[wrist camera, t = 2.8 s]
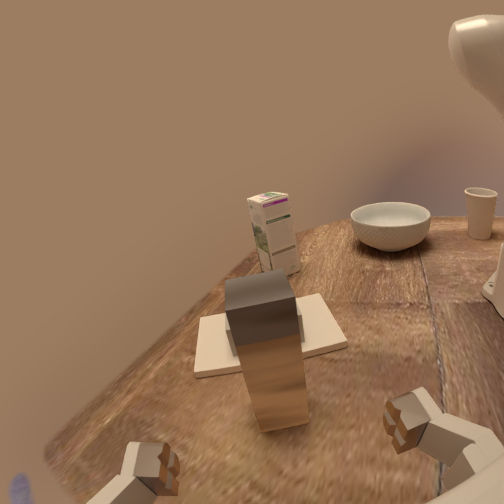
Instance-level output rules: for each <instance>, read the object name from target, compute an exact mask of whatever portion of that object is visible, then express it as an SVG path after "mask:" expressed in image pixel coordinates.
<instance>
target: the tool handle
mask: <svg viewBox="0 0 504 504" xmlns="http://www.w3.org/2000/svg"><path fill="white" fill-rule="evenodd" d="M225 312H226V316H227V319H228V323H229V327H230V330H231V334H232V337H233V341H234V344H235V348H236V351H237V355H238V358H239V362H240V365H241V368H242V372H243V375H244V378H245V382H246V385H247V388H248V392H249V395H250V398H251V401H252V405H253V408H254V411H255V414H256V417H257V420H258V423H259V427H260V430H261V433H262V432H268V431H273V430H279V429H284V428H288V427H293V426H298V425H302V424H306V423H310V422H309V411H308V401H307V391H306V381H305V372H304V363H303V354H302V346H301V337H300V329H299V321H298V313H297V306H296V298H295V295H294V292H293V290H292V288H291V286H290V283H289V281H288V279H287V277H286V275H285V272H284V270H283V268H282V269H278V270H273V271H268V272H263V273H258V274H253V275H249V276H244V277H239V278H234V279H229V280H225Z"/></svg>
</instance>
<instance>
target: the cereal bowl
mask: <svg viewBox="0 0 504 504" xmlns="http://www.w3.org/2000/svg"><path fill="white" fill-rule="evenodd" d="M430 219H431V216H430V213H429V211H428V210H427V209H425V208H423V207H421V206H418V205H415V204H410V203H402V202H384V203H375V204H370V205H366V206H363V207H360V208H358V209H356V210H354V211H353V212H352V213H351V224H352V228H353V231H354V233H355V235H356V236H357V238H358V239H359V240H361V242H363V243H365V244H367V245H369V246H371V247H374V248H377V249H379V250H382V251H387V252H395V251H401V250H404V249H406V248H409V247H412V246H414V245H416V244H418V243H419V242H421V241H422V240H423V239H424V238H425V236H426V235H427V233H428V231H429V227H430Z"/></svg>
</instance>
